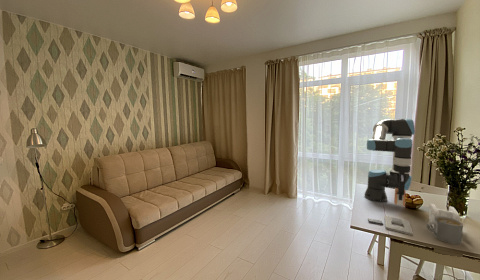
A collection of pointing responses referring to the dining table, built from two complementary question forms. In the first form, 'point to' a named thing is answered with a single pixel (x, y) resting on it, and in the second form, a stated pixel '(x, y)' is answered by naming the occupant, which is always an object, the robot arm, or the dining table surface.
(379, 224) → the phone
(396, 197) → the block
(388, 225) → the outlet plate
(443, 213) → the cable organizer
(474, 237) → the dining table surface
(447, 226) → the coffee mug
